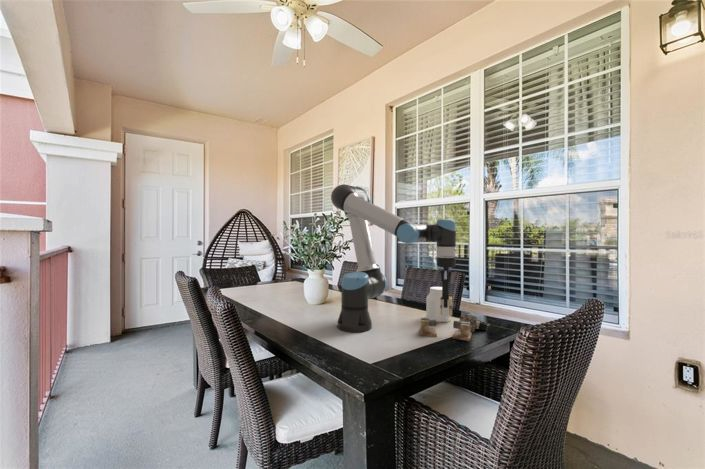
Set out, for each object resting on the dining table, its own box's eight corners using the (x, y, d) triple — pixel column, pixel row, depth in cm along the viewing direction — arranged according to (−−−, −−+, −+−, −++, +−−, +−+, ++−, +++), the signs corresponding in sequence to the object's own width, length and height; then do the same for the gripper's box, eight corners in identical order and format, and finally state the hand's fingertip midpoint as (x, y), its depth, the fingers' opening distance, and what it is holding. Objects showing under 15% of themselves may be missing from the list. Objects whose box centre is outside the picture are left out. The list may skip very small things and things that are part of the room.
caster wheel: (485, 333, 145) (485, 336, 136) (459, 324, 149) (457, 327, 140) (488, 318, 145) (489, 321, 136) (462, 310, 149) (461, 312, 140)
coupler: (440, 315, 133) (440, 298, 133) (440, 312, 137) (440, 296, 137) (452, 316, 131) (452, 298, 131) (452, 313, 136) (452, 296, 136)
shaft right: (452, 338, 130) (452, 323, 130) (455, 332, 137) (455, 318, 137) (469, 340, 127) (469, 325, 127) (471, 335, 134) (472, 320, 134)
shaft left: (420, 335, 133) (420, 320, 133) (419, 329, 141) (420, 315, 141) (436, 336, 132) (437, 321, 132) (435, 330, 140) (435, 316, 140)
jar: (446, 316, 163) (447, 286, 162) (453, 322, 153) (454, 290, 153) (423, 316, 162) (424, 286, 162) (429, 322, 152) (429, 290, 152)
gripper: (455, 258, 125) (455, 320, 125) (455, 255, 141) (455, 309, 142) (435, 258, 127) (434, 318, 127) (438, 255, 144) (437, 308, 144)
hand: (445, 313), depth 134 cm, fingers closed on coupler, 5 cm apart
